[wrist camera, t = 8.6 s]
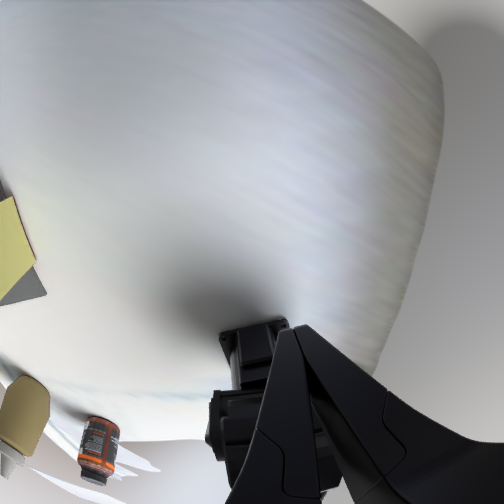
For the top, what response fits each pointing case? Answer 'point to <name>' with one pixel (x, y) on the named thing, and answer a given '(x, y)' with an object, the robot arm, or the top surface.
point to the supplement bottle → (98, 450)
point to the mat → (23, 282)
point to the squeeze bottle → (22, 421)
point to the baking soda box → (12, 247)
